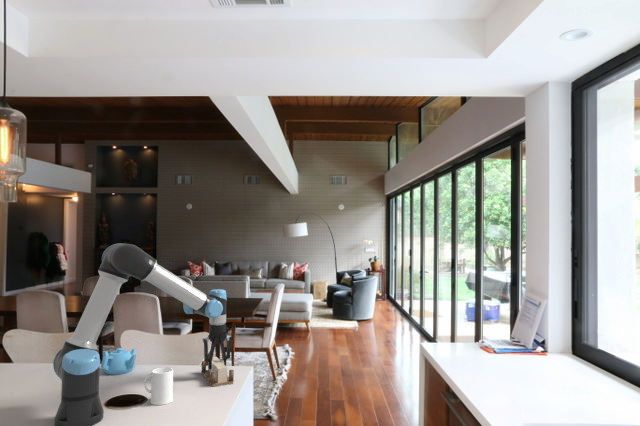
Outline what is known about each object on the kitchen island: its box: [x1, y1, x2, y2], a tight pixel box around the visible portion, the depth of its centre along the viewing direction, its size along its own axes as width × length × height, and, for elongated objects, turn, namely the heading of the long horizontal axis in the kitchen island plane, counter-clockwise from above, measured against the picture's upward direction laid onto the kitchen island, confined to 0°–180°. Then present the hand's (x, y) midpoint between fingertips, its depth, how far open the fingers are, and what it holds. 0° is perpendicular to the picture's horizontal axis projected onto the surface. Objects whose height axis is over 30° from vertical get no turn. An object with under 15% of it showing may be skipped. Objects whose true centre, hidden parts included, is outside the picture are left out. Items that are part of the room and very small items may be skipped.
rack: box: [201, 358, 235, 388], centre depth 204 cm, size 22×10×6 cm, turn 26°
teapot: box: [100, 347, 137, 376], centre depth 214 cm, size 15×15×11 cm
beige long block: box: [207, 356, 228, 383], centre depth 204 cm, size 20×4×6 cm, turn 26°
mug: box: [143, 367, 174, 406], centre depth 175 cm, size 12×8×12 cm
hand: (217, 375), depth 204 cm, fingers closed on beige long block, 4 cm apart
